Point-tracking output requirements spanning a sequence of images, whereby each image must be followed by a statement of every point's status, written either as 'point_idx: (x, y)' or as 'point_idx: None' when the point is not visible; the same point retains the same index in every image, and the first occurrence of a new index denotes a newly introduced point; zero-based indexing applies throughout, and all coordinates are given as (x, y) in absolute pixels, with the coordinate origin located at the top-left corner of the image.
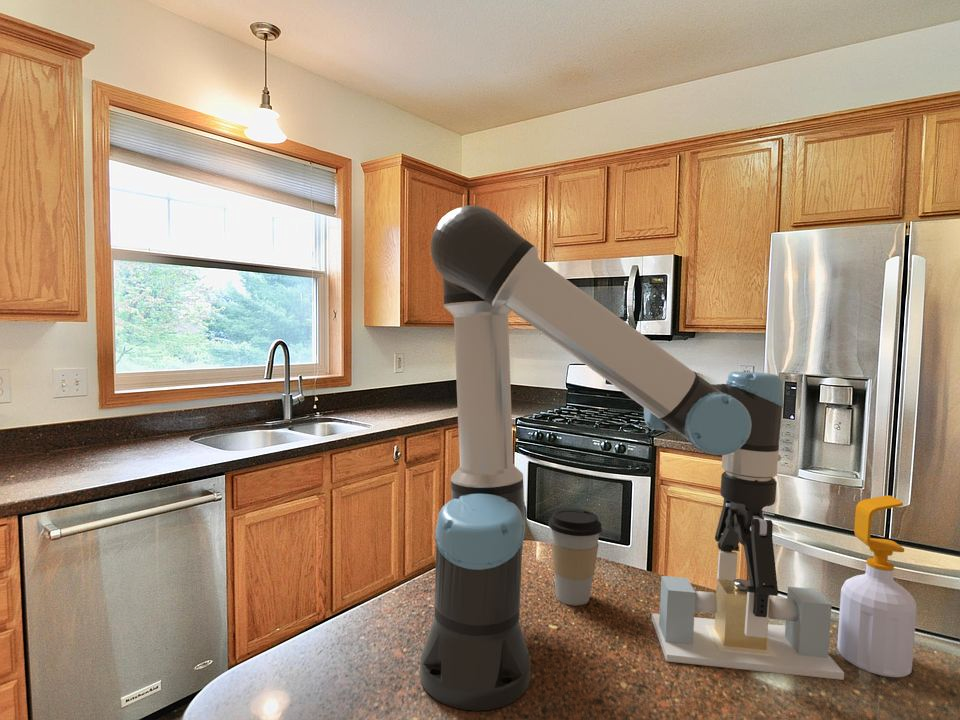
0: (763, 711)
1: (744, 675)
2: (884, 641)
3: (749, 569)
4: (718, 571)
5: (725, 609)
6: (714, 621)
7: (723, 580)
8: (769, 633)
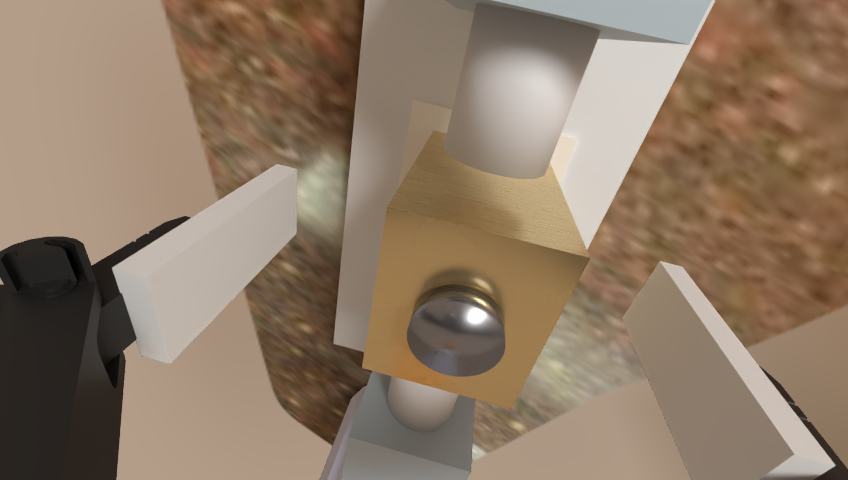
0: (186, 87)
1: (331, 126)
2: (326, 462)
3: (11, 398)
4: (716, 330)
5: (417, 173)
6: (598, 186)
7: (561, 282)
8: None
